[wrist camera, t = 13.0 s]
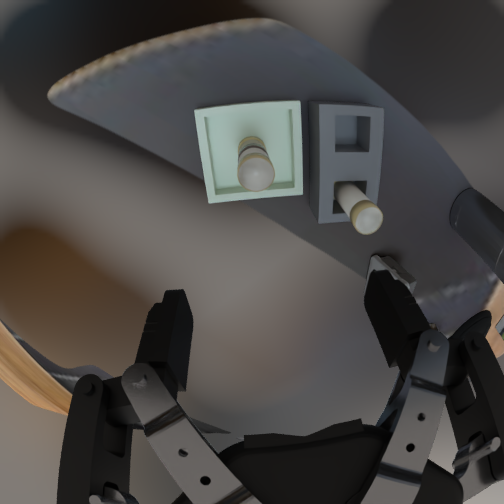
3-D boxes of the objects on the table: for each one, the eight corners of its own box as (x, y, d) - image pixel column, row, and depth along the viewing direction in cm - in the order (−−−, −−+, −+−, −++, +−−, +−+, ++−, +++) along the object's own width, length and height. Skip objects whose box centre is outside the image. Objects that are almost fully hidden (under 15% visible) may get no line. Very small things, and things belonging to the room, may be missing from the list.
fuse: (351, 173, 34) (384, 205, 26) (350, 196, 36) (380, 233, 28) (328, 174, 34) (356, 207, 26) (327, 197, 36) (353, 235, 28)
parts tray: (295, 99, 29) (300, 101, 27) (298, 187, 36) (302, 194, 34) (197, 108, 29) (194, 110, 27) (210, 195, 36) (208, 203, 34)
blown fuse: (264, 135, 31) (273, 155, 23) (266, 160, 33) (275, 190, 25) (236, 137, 31) (235, 158, 23) (239, 163, 33) (239, 193, 25)
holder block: (366, 103, 29) (384, 108, 25) (360, 203, 38) (374, 219, 33) (307, 101, 29) (318, 104, 25) (309, 206, 38) (318, 223, 34)
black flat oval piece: (501, 301, 58) (508, 311, 54) (457, 367, 82) (462, 376, 78) (454, 320, 59) (462, 333, 55) (412, 385, 83) (416, 395, 78)
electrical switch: (370, 253, 43) (397, 289, 36) (394, 248, 43) (422, 281, 36) (362, 293, 49) (383, 329, 41) (384, 287, 49) (406, 321, 41)
